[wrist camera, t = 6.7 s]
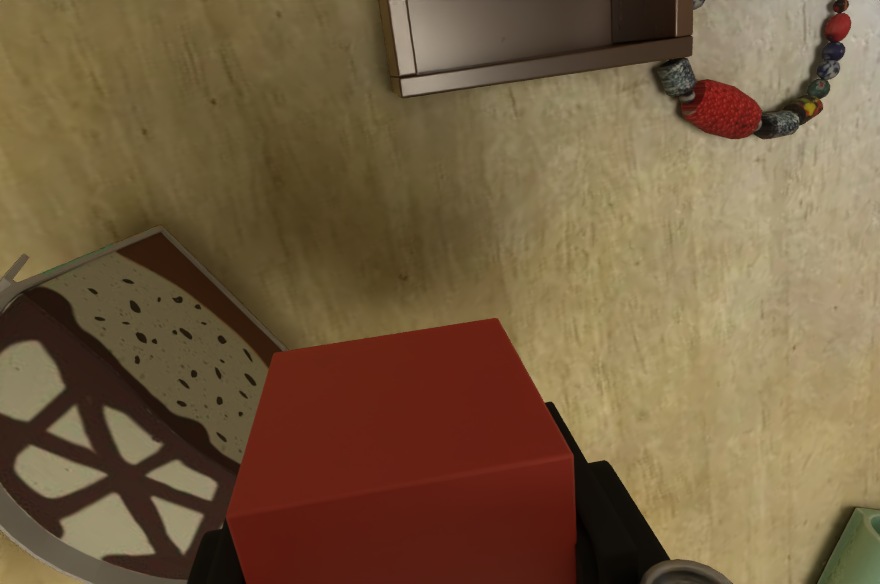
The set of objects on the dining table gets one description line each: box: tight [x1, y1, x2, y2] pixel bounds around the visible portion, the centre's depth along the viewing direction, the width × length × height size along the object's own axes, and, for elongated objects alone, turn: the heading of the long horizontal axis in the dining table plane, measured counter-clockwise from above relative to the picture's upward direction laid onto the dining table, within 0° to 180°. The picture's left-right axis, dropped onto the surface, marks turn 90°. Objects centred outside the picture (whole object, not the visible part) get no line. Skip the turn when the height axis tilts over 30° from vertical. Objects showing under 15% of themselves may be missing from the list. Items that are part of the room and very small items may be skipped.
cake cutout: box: [0, 225, 289, 584], centre depth 21 cm, size 12×6×10 cm, turn 38°
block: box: [226, 318, 577, 584], centre depth 11 cm, size 6×4×4 cm
